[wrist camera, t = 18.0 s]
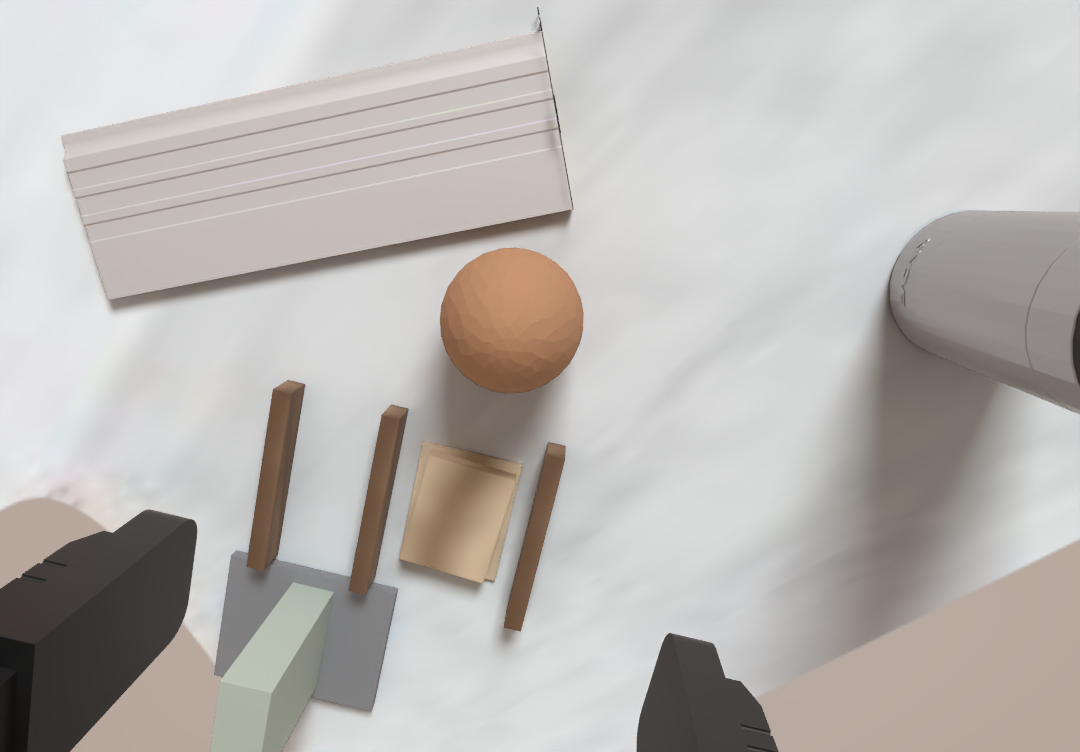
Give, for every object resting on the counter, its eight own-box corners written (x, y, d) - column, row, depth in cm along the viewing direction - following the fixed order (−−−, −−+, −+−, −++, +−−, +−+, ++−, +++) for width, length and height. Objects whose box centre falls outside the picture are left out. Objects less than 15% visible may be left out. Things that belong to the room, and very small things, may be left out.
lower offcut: (523, 459, 50) (522, 465, 49) (496, 572, 53) (494, 581, 51) (425, 437, 50) (422, 442, 49) (402, 551, 52) (399, 559, 51)
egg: (448, 250, 46) (409, 263, 35) (576, 237, 46) (578, 247, 35) (464, 374, 48) (432, 424, 37) (587, 364, 48) (592, 411, 37)
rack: (565, 446, 49) (565, 458, 47) (523, 611, 52) (520, 631, 50) (287, 380, 49) (272, 389, 46) (261, 550, 52) (246, 567, 50)
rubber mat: (398, 588, 52) (395, 594, 51) (374, 704, 55) (371, 711, 54) (236, 550, 52) (231, 555, 51) (219, 668, 54) (214, 674, 54)
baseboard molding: (63, 113, 46) (122, 297, 49) (30, 107, 43) (95, 303, 46) (539, 8, 43) (574, 209, 46) (536, -5, 41) (574, 209, 43)
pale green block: (334, 592, 52) (271, 693, 41) (316, 686, 53) (252, 806, 43) (293, 582, 52) (219, 681, 41) (276, 676, 53) (203, 795, 43)
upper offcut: (516, 474, 49) (515, 481, 48) (484, 574, 51) (482, 583, 50) (432, 449, 49) (429, 455, 48) (403, 550, 51) (400, 559, 50)
